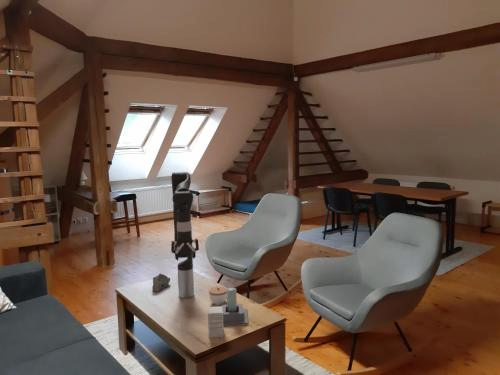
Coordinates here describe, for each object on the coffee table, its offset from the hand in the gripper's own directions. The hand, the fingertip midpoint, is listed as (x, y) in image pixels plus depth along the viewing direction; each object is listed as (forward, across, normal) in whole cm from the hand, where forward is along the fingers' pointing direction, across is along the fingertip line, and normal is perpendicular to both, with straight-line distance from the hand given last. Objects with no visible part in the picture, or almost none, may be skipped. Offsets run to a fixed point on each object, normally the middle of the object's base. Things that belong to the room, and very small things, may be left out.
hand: (185, 259), depth 210 cm
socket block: (+32, -22, +10) cm, 40 cm away
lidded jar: (+32, -20, -11) cm, 39 cm away
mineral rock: (+32, +10, -45) cm, 56 cm away
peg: (+31, -22, +10) cm, 39 cm away
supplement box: (+32, -10, +24) cm, 41 cm away
